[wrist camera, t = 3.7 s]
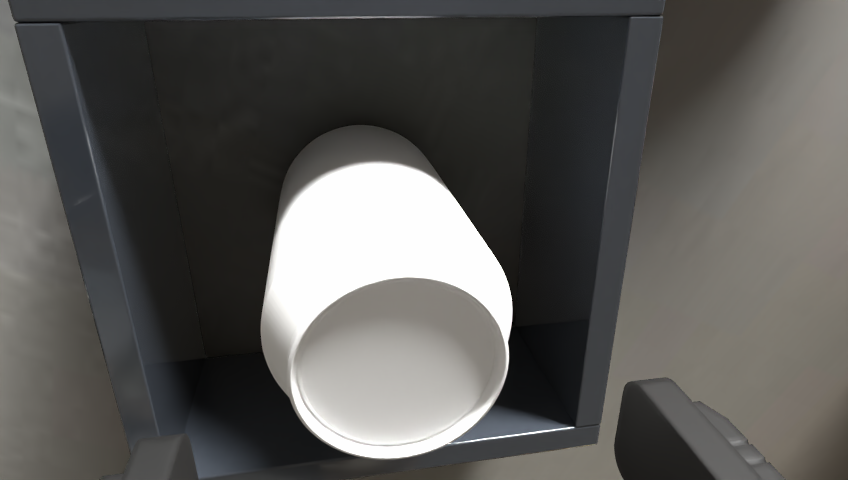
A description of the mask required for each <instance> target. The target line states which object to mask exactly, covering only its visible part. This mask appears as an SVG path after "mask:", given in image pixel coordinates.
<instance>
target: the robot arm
mask: <svg viewBox="0 0 848 480" xmlns="http://www.w3.org/2000/svg"><path fill="white" fill-rule="evenodd" d="M614 450H615V458H616V462H617V466H618V468H619V471H620V473H621V475H622V477H623V479H624V480H786V479H785V478H784V477H783V476H782V475H781V474H780V473H779V472H778V471H777V470H776V469H775V468H774V467H773V466H772V465H771V463H770V462H769V463H767V462H766V461H765V457H764V456H763V455H762V454H761V453H760V452H759V451H758V450H757V449H756V448H755V447H754V446H753V445H752V444H750V445H749V443H748V440H747V438H746V437H745V436H744V435H743V434H742V433H741V432H740V431H739V430H738V429H737V428H736V427H735V426H734V425H733V424H732V423H731V422H730V421H729V420H728V419H727V418H726V417H724V416H723V415H721V414H719V413H718V412H716V411H715V410H713V409H711V408H710V407H708V406H706V405H705V404H703V403H702V402H700V401H698V402H692V401H691V400H690V399H689V397H688V396H687V395H686V394H685V393H684V392H683V391H682V390H681V389H680V388H679V387H678V385H677V384H676V383H675V382H674V381H673V380H671V379H669V378H656V379H648V380H640V381H631V382H628V383H627V384H626V385H625V387H624V391H623V396H622V402H621V408H620V413H619V419H618V425H617V431H616V437H615V444H614ZM100 480H199V479H198V474H197V470H196V465H195V461H194V456H193V451H192V447H191V442H190V439H189V437H188V435H187V434H185V433H184V434H176V435H167V436H159V437H151V438H142V439H139V440H138V441H137V442H136V444H135V446H134V448H133V450H132V453H131V455H130V458H129V461H128V463H127V466H126V468H125V471H124V473H123V474H115V475H107V476H102V478H101V479H100Z"/></svg>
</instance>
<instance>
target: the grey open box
mask: <svg viewBox="0 0 848 480" xmlns="http://www.w3.org/2000/svg"><path fill="white" fill-rule="evenodd" d="M8 2H9V5H10V9H11V13H12V17H13V19H14V21H16V22H19V23H16V24H15V29H16V33H17V37H18V40H19V44H20V48H21V52H22V55H23V59H24V63H25V66H26V70H27V74H28V77H29V81H30V85H31V88H32V92H33V96H34V100H35V103H36V107H37V111H38V114H39V118H40V122H41V125H42V129H43V133H44V136H45V140H46V144H47V148H48V151H49V155H50V159H51V162H52V166H53V170H54V173H55V177H56V181H57V184H58V188H59V192H60V196H61V199H62V203H63V207H64V210H65V214H66V218H67V221H68V225H69V229H70V233H71V236H72V240H73V244H74V247H75V251H76V255H77V258H78V262H79V266H80V269H81V273H82V277H83V281H84V284H85V288H86V292H87V295H88V299H89V303H90V306H91V310H92V314H93V317H94V321H95V325H96V329H97V332H98V336H99V340H100V343H101V347H102V351H103V354H104V358H105V362H106V365H107V369H108V373H109V377H110V380H111V384H112V388H113V391H114V395H115V399H116V402H117V406H118V410H119V413H120V417H121V421H122V425H123V428H124V432H125V436H126V439H127V443H128V447H129V450H130V454H131V453H132V450H133V448H134V446H135V444H136V442H137V441H138V440H139V439H142V438H151V437H159V436H167V435H176V434H184V433H185V434H187V435H188V437H189V439H190V442H191V447H192V451H193V456H194V461H195V465H196V470H197V474H198V479H199V480H345V479H353V478H360V477H367V476H374V475H381V474H389V473H396V472H403V471H410V470H417V469H424V468H432V467H439V466H446V465H453V464H460V463H467V462H475V461H482V460H489V459H496V458H503V457H511V456H518V455H525V454H532V453H539V452H546V451H554V450H561V449H568V448H575V447H582V446H589V445H596V444H597V442H598V435H599V429H600V423H601V418H602V412H603V405H604V399H605V393H606V386H607V380H608V373H609V367H610V360H611V354H612V347H613V341H614V334H615V328H616V322H617V315H618V309H619V302H620V296H621V289H622V283H623V276H624V270H625V263H626V257H627V250H628V244H629V238H630V231H631V225H632V218H633V212H634V205H635V199H636V192H637V186H638V179H639V173H640V166H641V160H642V154H643V147H644V141H645V134H646V128H647V121H648V115H649V108H650V102H651V95H652V89H653V83H654V76H655V70H656V63H657V57H658V50H659V44H660V37H661V31H662V24H663V16H660V15H662V14H663V12H664V7H665V0H8ZM513 17H537V25H536V39H535V53H534V67H533V81H532V95H531V108H530V122H529V136H528V150H527V164H526V178H525V192H524V205H523V219H522V233H521V247H520V261H519V275H518V289H517V303H516V316H515V327H511V331H510V336H509V339H508V348H509V364H508V371H507V375H506V379H505V382H504V385H503V387H502V390H501V392H500V394H499V396H498V398H497V400H496V401H495V403H494V404H493V406H492V407H491V409H490V410H489V411H488V413H487V414H486V415H485V416H484V417H483V418H482V419H481V420H480V421H479V422H478V423H477V424H476V425H475V426H474V427H473V428H472V429H471V430H469V431H468V432H467V433H465V434H464V435H463V436H461V437H460V438H458V439H456V440H455V441H453V442H451V443H449V444H448V445H446V446H443V447H441V448H439V449H437V450H434V451H431V452H428V453H425V454H422V455H418V456H414V457H409V458H402V459H390V460H381V459H369V458H362V457H358V456H354V455H350V454H347V453H344V452H341V451H339V450H337V449H335V448H333V447H331V446H329V445H327V444H326V443H324V442H322V441H321V440H320V439H318V438H317V437H316V436H314V435H313V434H312V433H311V432H310V431H309V430H308V429H307V428H306V427H305V425H304V424H303V423H302V422H301V420H300V419H299V417H298V416H297V414H296V412H295V410H294V408H293V406H292V403H291V401H290V398H289V397H288V395H287V394H286V393H285V392H284V391H283V390H282V389H281V387H280V386H279V385H278V383H277V382H276V380H275V379H274V377H273V375H272V373H271V371H270V369H269V367H268V365H267V362H266V359H265V356H264V353H263V352H261V353H252V354H242V355H232V356H222V357H212V358H206V355H205V350H204V345H203V339H202V334H201V328H200V323H199V318H198V312H197V307H196V301H195V296H194V291H193V285H192V280H191V274H190V269H189V264H188V258H187V253H186V248H185V242H184V237H183V231H182V226H181V221H180V215H179V210H178V204H177V199H176V194H175V188H174V183H173V177H172V172H171V167H170V161H169V156H168V150H167V145H166V140H165V134H164V129H163V123H162V118H161V113H160V107H159V102H158V97H157V91H156V86H155V80H154V75H153V70H152V64H151V59H150V53H149V48H148V43H147V37H146V32H145V26H144V21H227V20H322V19H418V18H513Z"/></svg>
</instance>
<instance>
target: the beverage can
mask: <svg viewBox="0 0 848 480" xmlns="http://www.w3.org/2000/svg"><path fill="white" fill-rule="evenodd" d="M511 325H512V298H511V293H510V288H509V285H508V282H507V279H506V276H505V274H504V272H503V270H502V268H501V266H500V264H499V262H498V261H497V259H496V258H495V256H494V255H493V253H492V252H491V250H490V249H489V247H488V246H487V245H486V243H485V242H484V240H483V239H482V237H481V236H480V234H479V233H478V231H477V230H476V229H475V227H474V226H473V224H472V223H471V221H470V220H469V218H468V217H467V215H466V214H465V213H464V211H463V210H462V208H461V207H460V205H459V204H458V202H457V201H456V199H455V198H454V197H453V195H452V194H451V192H450V191H449V189H448V188H447V186H446V185H445V183H444V182H443V181H442V179H441V178H440V176H439V175H438V173H437V172H436V171H435V169H434V168H433V166H432V165H431V164H430V162H429V161H428V159H427V158H426V157H425V156H424V155H423V153H422V152H421V151H420V150H419V149H418V148H417V147H416V146H415V145H414V144H413V143H411V142H410V141H409V140H407V139H406V138H404V137H403V136H401V135H399V134H397V133H395V132H393V131H390V130H387V129H384V128H381V127H376V126H369V125H353V126H346V127H341V128H338V129H334V130H332V131H329V132H327V133H325V134H323V135H321V136H319V137H318V138H316V139H314V140H313V141H312V142H310V143H309V144H308V145H307V146H306V147H305V148H304V149H303V150H302V151H301V152H300V153H299V154H298V155H297V157H296V158H295V159H294V161H293V162H292V164H291V166H290V167H289V169H288V171H287V174H286V176H285V179H284V182H283V186H282V190H281V195H280V200H279V206H278V213H277V219H276V225H275V231H274V238H273V244H272V251H271V257H270V264H269V270H268V277H267V283H266V290H265V296H264V303H263V309H262V316H261V342H262V348H263V353H264V356H265V359H266V362H267V365H268V367H269V369H270V371H271V373H272V375H273V377H274V379H275V380H276V382H277V383H278V385H279V386H280V387H281V389H282V390H283V391H284V392H285V393H286V394H287V395H288V397H289V398H290V401H291V403H292V406H293V408H294V410H295V412H296V414H297V416H298V417H299V419H300V420H301V422H302V423H303V424H304V425H305V427H306V428H307V429H308V430H309V431H310V432H311V433H312V434H313V435H314V436H316V437H317V438H318V439H320V440H321V441H322V442H324V443H326V444H327V445H329V446H331V447H333V448H335V449H337V450H339V451H341V452H344V453H347V454H350V455H354V456H358V457H362V458H369V459H381V460H390V459H402V458H409V457H414V456H418V455H422V454H425V453H428V452H431V451H434V450H437V449H439V448H441V447H443V446H446V445H448V444H449V443H451V442H453V441H455V440H456V439H458V438H460V437H461V436H463V435H464V434H465V433H467V432H468V431H469V430H471V429H472V428H473V427H474V426H475V425H476V424H477V423H478V422H479V421H480V420H481V419H482V418H483V417H484V416H485V415H486V414H487V413H488V411H489V410H490V409H491V407H492V406H493V404H494V403H495V401H496V400H497V398H498V396H499V394H500V392H501V390H502V387H503V385H504V382H505V379H506V375H507V371H508V364H509V348H508V339H509V336H510V331H511Z"/></svg>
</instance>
